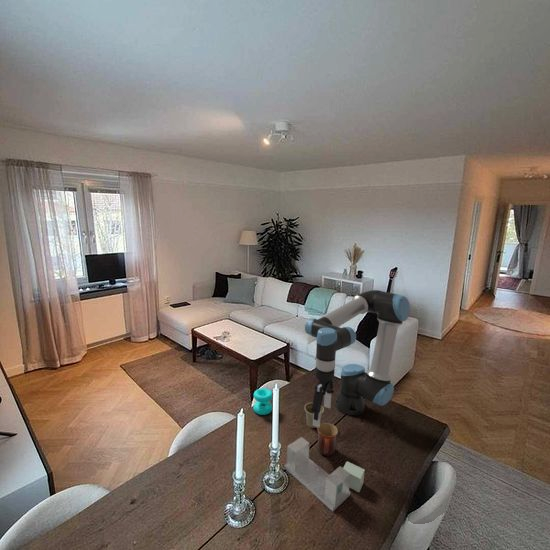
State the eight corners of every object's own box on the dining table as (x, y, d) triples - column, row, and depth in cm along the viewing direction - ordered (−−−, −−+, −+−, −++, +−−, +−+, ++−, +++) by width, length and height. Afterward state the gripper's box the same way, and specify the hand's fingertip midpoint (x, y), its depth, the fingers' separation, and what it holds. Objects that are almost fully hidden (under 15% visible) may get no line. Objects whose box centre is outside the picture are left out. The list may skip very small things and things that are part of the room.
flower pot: (322, 432, 143) (324, 415, 141) (302, 429, 144) (303, 412, 143) (323, 419, 152) (324, 403, 151) (304, 416, 154) (305, 401, 152)
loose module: (345, 474, 120) (346, 461, 118) (363, 483, 116) (364, 469, 115) (340, 483, 115) (342, 469, 114) (359, 492, 112) (360, 478, 111)
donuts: (269, 399, 150) (250, 395, 153) (268, 418, 152) (250, 413, 155) (275, 389, 159) (257, 385, 162) (275, 406, 161) (257, 402, 164)
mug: (316, 441, 137) (317, 421, 135) (336, 445, 135) (338, 424, 133) (314, 462, 125) (315, 440, 123) (336, 466, 123) (337, 443, 121)
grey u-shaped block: (301, 455, 128) (302, 435, 127) (350, 495, 110) (352, 473, 109) (284, 467, 122) (284, 446, 120) (333, 512, 104) (335, 488, 102)
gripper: (325, 353, 132) (322, 397, 136) (304, 379, 110) (301, 431, 114) (342, 357, 129) (339, 402, 133) (324, 385, 107) (320, 438, 111)
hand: (321, 416), depth 123 cm, fingers open, 13 cm apart
